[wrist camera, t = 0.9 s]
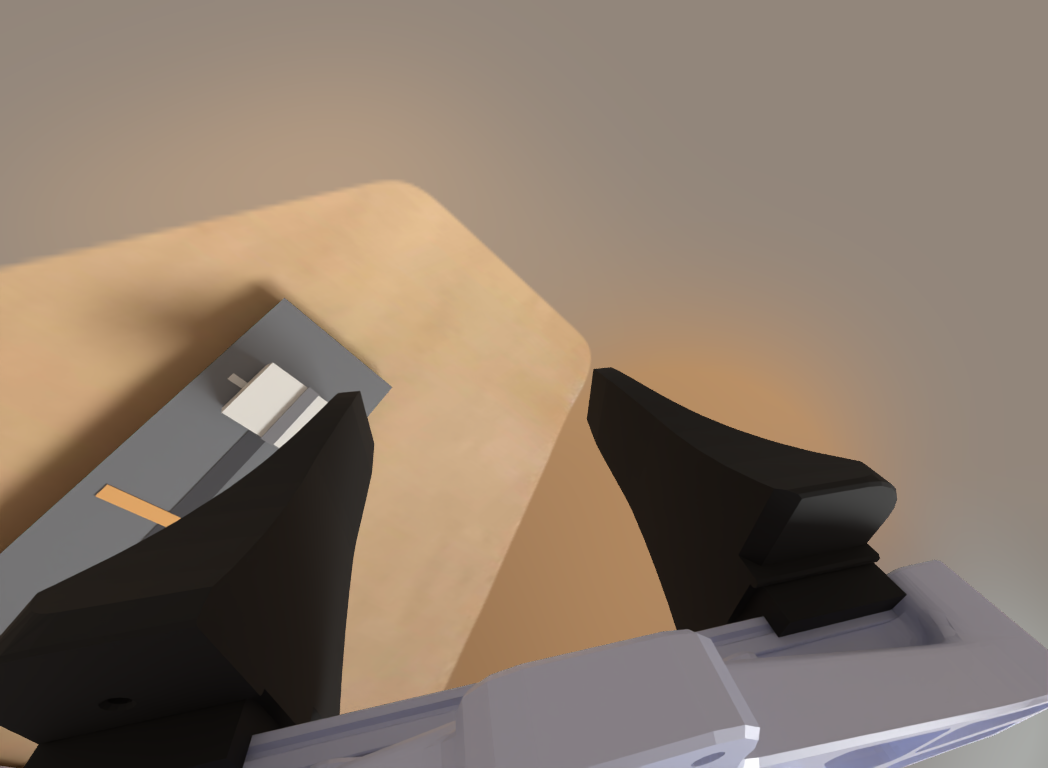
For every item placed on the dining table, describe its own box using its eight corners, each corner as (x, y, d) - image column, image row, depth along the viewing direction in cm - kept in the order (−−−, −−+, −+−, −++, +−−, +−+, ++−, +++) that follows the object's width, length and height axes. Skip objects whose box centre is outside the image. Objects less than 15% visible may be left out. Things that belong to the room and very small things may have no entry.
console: (140, 676, 19) (134, 697, 18) (-75, 623, 15) (-102, 645, 14) (384, 386, 27) (392, 387, 25) (281, 302, 23) (284, 297, 22)
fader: (296, 455, 22) (307, 467, 19) (221, 408, 20) (220, 413, 17) (334, 412, 23) (350, 417, 20) (267, 364, 21) (274, 361, 18)
